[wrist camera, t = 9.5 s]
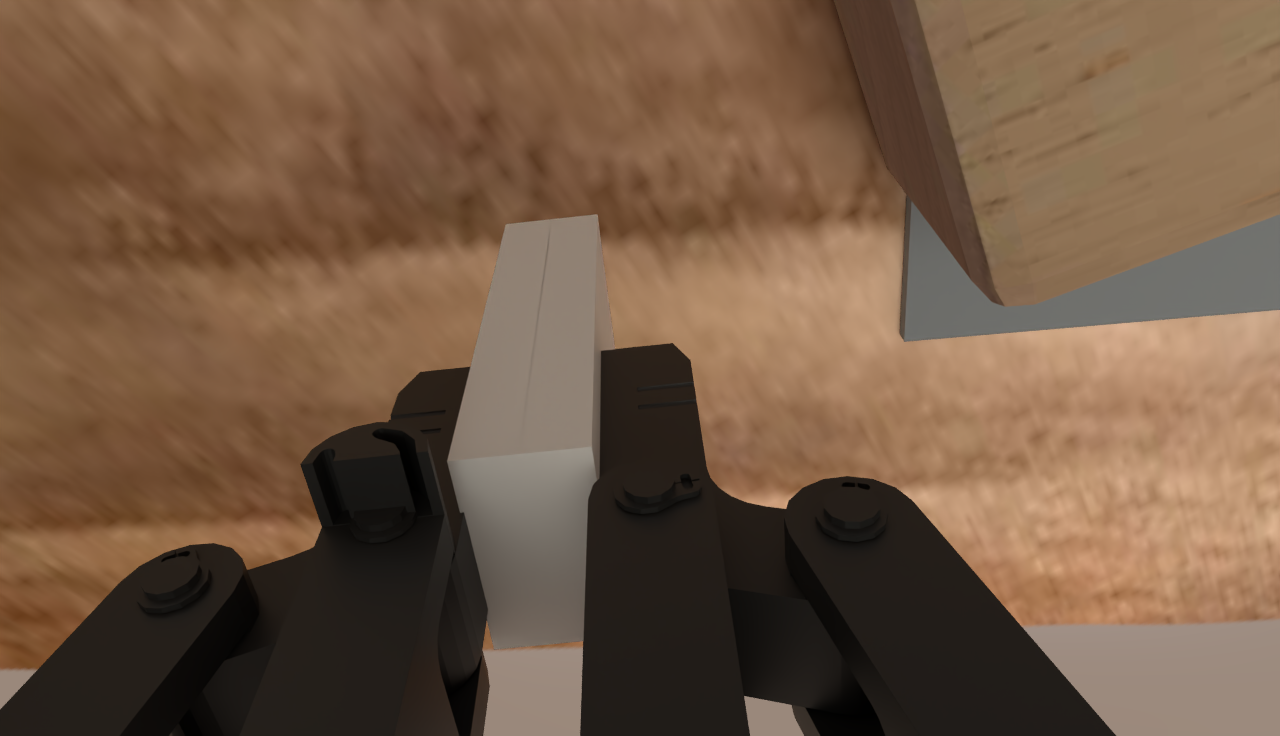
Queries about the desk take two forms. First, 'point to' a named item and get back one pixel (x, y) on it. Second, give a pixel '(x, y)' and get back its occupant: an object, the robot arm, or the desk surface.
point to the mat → (1092, 287)
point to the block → (1073, 128)
